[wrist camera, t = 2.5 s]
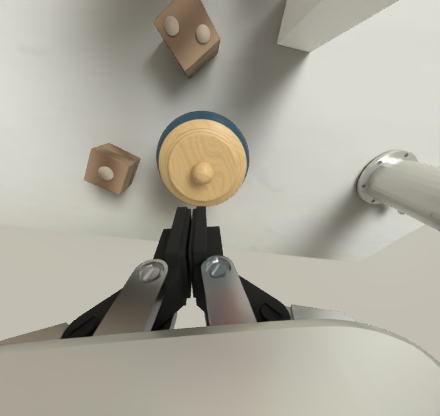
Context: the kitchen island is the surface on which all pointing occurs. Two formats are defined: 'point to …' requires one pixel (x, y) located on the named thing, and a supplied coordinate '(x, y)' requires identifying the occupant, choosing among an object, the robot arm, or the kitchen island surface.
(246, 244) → the kitchen island surface
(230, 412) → the robot arm
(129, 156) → the dotted block
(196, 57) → the dotted block
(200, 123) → the canister
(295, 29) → the milk
